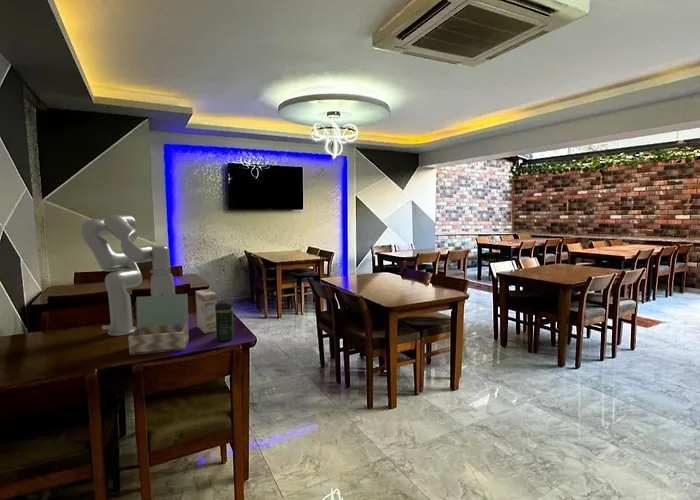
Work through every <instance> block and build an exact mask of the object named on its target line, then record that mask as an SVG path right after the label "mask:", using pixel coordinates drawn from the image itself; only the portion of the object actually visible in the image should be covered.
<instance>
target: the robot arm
mask: <svg viewBox="0 0 700 500" xmlns="http://www.w3.org/2000/svg"><path fill="white" fill-rule="evenodd" d="M136 221H137V220H136V219H135V217H133V216H132V215H130V214H112V215H109V216H107V217H105V218H93V219H89V220H86V221H84V222H83V223H82V225H81V236H82V238H83V240H84V241H85V243H86V245H87V246H88V247H89V248H90V250H91V252H92V253H93V256H94V257H95V260H96V261H97V264H98V265H99V267H100V269H101V270H102V271H103V272H109V273H108V274H107V275H106V276H105V278H104V284H105V288H106V291H107V294H108V295H107V296H108V304H109V307H108V308H109V317H110V319H109V320H110V324H109V325H102V327H101V330H102V331H107V334H108V335H109V336H112V337H113V336H114V337H117V336H126V335H131V334H132V333H133V332H134V331H135V329H136V328H137V326H134V325H133V315H132V314H133V313H132V303H131V302H132V300H131V299H132V298H131V295H130V294H129V291H127V290H126V289H129V288H134V287H138V286H139V285H141V284H142V282H143V274H142V272H141V270H140V268H139V266H138V264H140V263H147V262H152V269H151V270H149V274H152V275H151V277H150V296H162V295H161V294H163V295H177V294H176V286H175V280H174V276H173V273H172V272H171V257H170V248H169V247H168V246H165V245H156V244H151V245H141V246H136V244H134V242H135V241H136V239H137V238H138V235H139V233H138V231H137V230H136V229H135V228H136V227H137V222H136ZM110 235H111V236H114V237H115V238H117V240H119V241H120V248H121V251H120V250H119V251H115V250H114V249H113V248H112V247H113V246H111V243H109V241H108V240H106V239H105V238H103V237H102V236H110Z"/></svg>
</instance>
